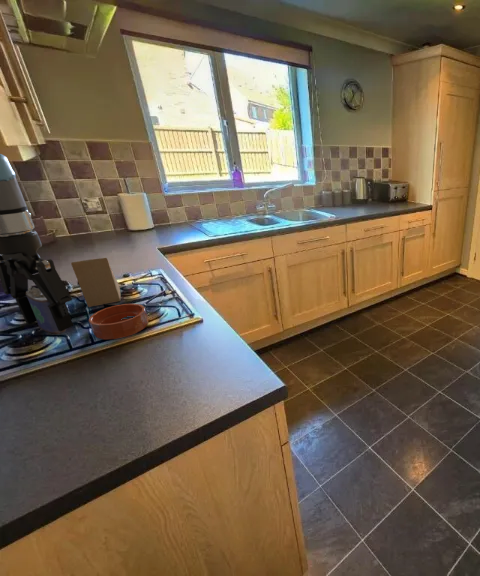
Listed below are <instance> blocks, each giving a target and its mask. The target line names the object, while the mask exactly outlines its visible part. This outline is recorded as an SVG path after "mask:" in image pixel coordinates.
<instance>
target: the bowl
mask: <svg viewBox="0 0 480 576" xmlns="http://www.w3.org/2000/svg"><path fill="white" fill-rule="evenodd" d="M127 316H135V317H133V318H129V319H122V318H124V317H127ZM121 319H122V320H121ZM149 321H150V320H149V317H148V314H147V310H146V306H144V305H142V304H141V303H140V304H139V303H122V304H116V305H112V306H109V307H105V308H102V309H100V310H98V311H96V312H94V313H93V314H91V315H90V316H89V319H88V323H89V326H90V328H91V332H92V334H93V336H94V337H95V338H97V339H99V340H104V341H105V340H117V339H123V338H126V337H130V336H132V335H135V334H137V333H139V332H141V331H142V330H144V329H145V328H146V327H147V326H148V325H149V323H150V322H149Z"/></svg>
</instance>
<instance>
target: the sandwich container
mask: <svg viewBox="0 0 480 576" xmlns="http://www.w3.org/2000/svg"><path fill="white" fill-rule="evenodd" d="M70 264H71V267H72V270H73V272H74V276H75V277H76V280H77V282H78V285H79V287H80V291H81V293H82V296H83V297H84V300H85V302H86V305H87V307H88V308H91V307H97V306H101V305H107V304H112V303H116V302H121V288H120V284H119V282H118V279H117V278H116V276H115V273H114V272H113V270H112V269H113V268H112V267H111V264H110V262H109V259H108V257H100V258H92V259H91V258H90V259H85V260H84V259H83V260H78V261H71V263H70Z"/></svg>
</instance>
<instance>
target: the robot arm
mask: <svg viewBox="0 0 480 576" xmlns="http://www.w3.org/2000/svg"><path fill="white" fill-rule="evenodd" d="M16 175H17V174H16V172H15V170H14V169H13V168H12V166H11V163H10V161H9V159H8V157H7V156H6V155H4V154H2V153H0V283H1V287H2V291H3V293H4V294H5V295H8V296H9V295H10V296H11V298H13V299H15V301H16V304H17V306H18V308H19V311H20V313H21V315H22V317H23V319H24V321H25V323H26V325H32V324H33V323H37V320H36V317H35V315H34V312H33V310H32V308H31V305H30V303H29V300H28V298H27V296H26V292H27V291H28V289H29V281H32V282H33V284H34V285H35V286H36V287H37V288H38V289H39V290H40V291H41V293H42V294H43V295H44V296H45V297H46V299H47V300H48V301H49V303H50V305H48V307H49V309H50V311H51V314H52V316H53V318H54V321H55V323H56V326H57V328H58V330H59V331H63V330H65V329H66V330H67V329H69V328H72V327H74V326H75V325H74V322H73V320H72V318H71V315H70V312H69V310H68V306H67V305H66V303H68V302H71V301H72V300H73V298H72V296H71V294H70V293H69V291H68V289H67V287H66V285H65V284H64V282H63V280H62V278H61V276H60V274H59V273H58V271H57V269H56V267H55V263H54V261H53V259H51V258H48V259H42V257H41V256H40V255H39V253H38V252H37V251H38V250H39V249H41V248H42V247H43V244H42V241H41V239H40V236H39V233H38V232H37V231H36V230H35V224H34V221H33V219H32V213H30V211H29V210H28V206H27V203H26V201H25V198H24V195H23V192H22V190H21V187H20V184H19V182H18V179H17V177H16Z"/></svg>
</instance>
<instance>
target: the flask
mask: <svg viewBox="0 0 480 576" xmlns="http://www.w3.org/2000/svg"><path fill="white" fill-rule="evenodd" d="M26 296H27V298H28V300H29V303H30V305H31V308H32V310H33V312H34V315H35V317H36V320H37V321H36V323H37V325H38V328H39V329H40V330H41V331H44V332H45V333H48V334H50V335H62V334H63V333H66V330H67V329H65V330H63V331H59V330H58V328H57V326H56V323H55V321H54V318H53V316H52V314H51V311H50V309H49V307H48V305H50V303H49V301H48V300H47V299H46V297H45V296H44V295H43V294H42V292H41V291H40V290H39V289H38V287H37V288H36V287H28V291H27V292H26Z"/></svg>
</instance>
